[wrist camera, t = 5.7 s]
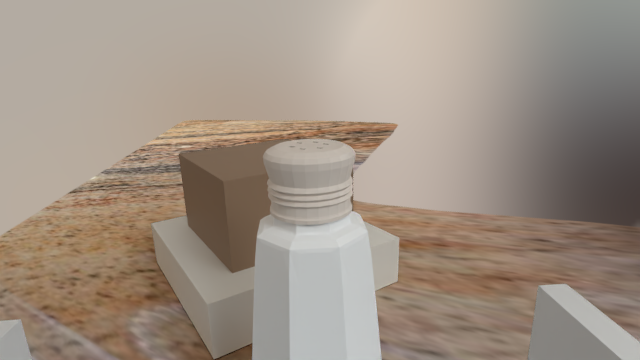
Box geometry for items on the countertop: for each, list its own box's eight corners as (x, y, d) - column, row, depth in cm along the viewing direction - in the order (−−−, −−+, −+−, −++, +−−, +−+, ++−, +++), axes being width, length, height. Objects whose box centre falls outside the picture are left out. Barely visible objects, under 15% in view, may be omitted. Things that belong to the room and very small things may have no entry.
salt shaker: (375, 531, 12) (382, 174, 9) (217, 476, 14) (176, 161, 10) (400, 392, 17) (410, 133, 14) (282, 365, 18) (267, 129, 15)
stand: (300, 223, 35) (296, 132, 33) (397, 281, 25) (401, 158, 23) (156, 262, 29) (139, 153, 26) (213, 359, 19) (194, 200, 17)
